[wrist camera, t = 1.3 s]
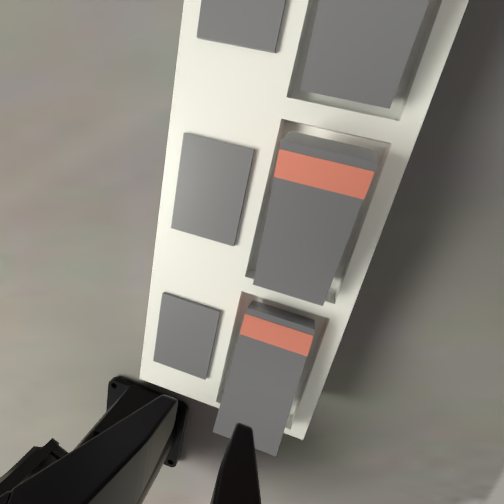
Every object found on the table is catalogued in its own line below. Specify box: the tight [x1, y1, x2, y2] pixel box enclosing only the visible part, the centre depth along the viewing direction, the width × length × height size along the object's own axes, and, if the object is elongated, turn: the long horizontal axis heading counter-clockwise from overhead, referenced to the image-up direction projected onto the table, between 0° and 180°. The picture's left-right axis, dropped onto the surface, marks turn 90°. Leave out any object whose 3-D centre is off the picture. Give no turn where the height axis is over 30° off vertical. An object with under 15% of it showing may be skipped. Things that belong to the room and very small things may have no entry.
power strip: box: [140, 0, 469, 440], centre depth 16 cm, size 24×10×4 cm, turn 168°
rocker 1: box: [213, 300, 315, 457], centre depth 16 cm, size 6×3×2 cm, turn 167°
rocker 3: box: [253, 131, 378, 306], centre depth 13 cm, size 6×3×2 cm, turn 168°
